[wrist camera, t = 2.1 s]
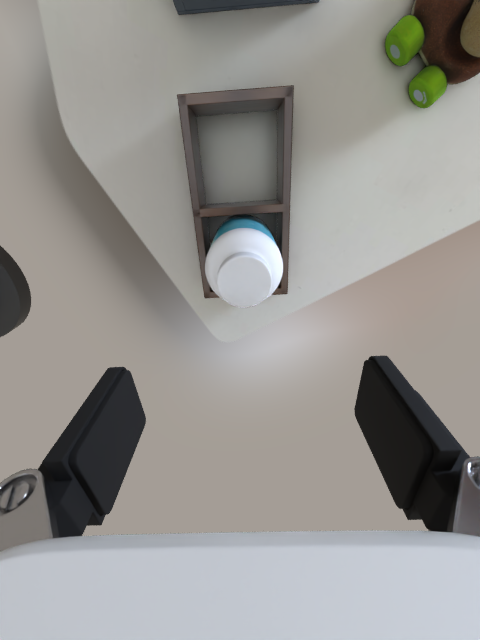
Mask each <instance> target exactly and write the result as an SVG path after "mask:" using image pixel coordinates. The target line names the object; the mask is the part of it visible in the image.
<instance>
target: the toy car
mask: <svg viewBox="0 0 480 640" xmlns="http://www.w3.org/2000/svg"><path fill="white" fill-rule="evenodd" d="M385 48H386V53H387V55H388V57H389V59H390V60H391V61H392V62H393V63H394V64H395V65H398V66H403V65H405V64H407V63H408V62H409V61H410V60H411V59H412V58H413V57H414V56H415V55H416V54H417V53H418V52H419V54H420V56H421V58H422V59H423V61H424V63H425V64H426V65H427V67H425V68H424V69H422V70H421V71H420V72H419V73H418V74H417V75H416V76H415V77H414V78H413V79H412V81H411V82H410V85H409V95H410V98H411V100H412V101H413V102H414V104H415V105H417V106H418V107H420V108H428V107H429V106H431V105H432V104H433V103H434V102H435V101H436V100H437V99H439V98H440V97H441V96H442V95H443V94H444V92H445V90H446V88H447V84H458V83H461V82H464V81H466V80H468V79H470V78H472V77H474V76H475V75H477V74H478V73H480V0H415V1H414V4H413V7H412V11H411V15H407V16H404V17H403V18H402V19H401V20H400V21H399V22H398V23H397V24H396V25H395V26H394V27H393V28H392V30H391V31H390V32H389V33H388V35H387V37H386V41H385Z"/></svg>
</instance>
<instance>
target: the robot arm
mask: <svg viewBox="0 0 480 640" xmlns="http://www.w3.org/2000/svg"><path fill="white" fill-rule="evenodd" d="M355 416H356V419H357V421H358V423H359V426H360V428H361V430H362V432H363V434H364V437H365V439H366V441H367V443H368V445H369V447H370V449H371V452H372V454H373V456H374V458H375V460H376V463H377V465H378V467H379V469H380V471H381V473H382V476H383V478H384V480H385V482H386V484H387V486H388V489H389V491H390V493H391V495H392V497H393V499H394V502H395V504H396V505H397V507H398V508H400V509H403V511H404V513H405V515H406V517H407V519H408V520H417V519H422V520H423V522H424V524H425V526H426V528H427V529H429V531H373V530H371V531H288V532H287V531H284V532H223V533H177V534H176V533H173V534H129V535H128V534H127V535H102V536H101V535H100V536H82V534H83V532H84V530H85V528H86V526H87V525H102V522H103V520H104V517H105V515H106V514H109V513H110V511H111V510H112V507H113V505H114V502H115V500H116V497H117V495H118V492H119V490H120V487H121V484H122V482H123V479H124V477H125V475H126V472H127V469H128V467H129V464H130V462H131V459H132V457H133V454H134V452H135V449H136V447H137V444H138V442H139V439H140V436H141V434H142V431H143V429H144V426H145V422H146V418H145V414H144V411H143V408H142V405H141V402H140V399H139V396H138V393H137V390H136V387H135V384H134V381H133V378H132V375H131V373H130V371H129V370H126V368H124V367H113V368H108V369H107V370H106V372H105V373H104V375H103V376H102V377H101V379H100V380H99V382H98V383H97V385H96V386H95V388H94V389H93V390H92V392H91V393H90V395H89V396H88V397H87V399H86V400H85V402H84V403H83V405H82V406H81V407H80V409H79V410H78V412H77V413H76V415H75V416H74V417H73V419H72V420H71V422H70V423H69V425H68V426H67V427H66V429H65V430H64V432H63V433H62V434H61V436H60V437H59V439H58V440H57V442H56V443H55V444H54V446H53V447H52V449H51V450H50V452H49V453H48V454H47V456H46V457H45V459H44V460H43V462H42V464H41V465H40V467H39V468H38V470H37V469H26V470H22V471H19V472H17V473H15V474H13V475H11V476H10V477H8V478H6V479H5V480H3V481H2V482H1V483H0V640H480V457H478V456H477V457H469V455H468V454H467V453H466V452H465V450H464V449H463V448H462V447H461V445H460V444H459V443H458V442H457V440H456V439H455V438H454V437H453V435H452V434H451V433H450V432H449V430H448V429H447V428H446V427H445V425H444V424H443V423H442V422H441V421H440V419H439V418H438V417H437V415H436V414H435V413H434V412H433V410H432V409H431V408H430V407H429V405H428V404H427V403H426V402H425V400H424V399H423V398H422V397H421V395H420V394H419V393H418V392H417V391H415V390H414V389H413V388H412V386H411V385H410V384H409V383H408V381H407V380H406V379H405V378H404V376H403V375H402V374H401V373H400V371H399V370H398V369H397V367H396V366H395V365H394V364H393V362H392V361H391V360H390V359H389V358H388V357H387V356H371V357H369V359H368V360H366V361H365V362H364V366H363V370H362V375H361V380H360V385H359V390H358V395H357V400H356V405H355Z"/></svg>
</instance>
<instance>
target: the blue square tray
mask: <svg viewBox="0 0 480 640" xmlns="http://www.w3.org/2000/svg"><path fill="white" fill-rule="evenodd" d="M173 2H174V5H175V7H176V10H177V12H178V14H179V15H181V14H193V13H204V12H215V11H226V10H237V9H248V8H260V7H271V6H282V5H293V4H304V3H315V2H319V0H173Z"/></svg>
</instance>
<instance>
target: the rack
mask: <svg viewBox="0 0 480 640" xmlns="http://www.w3.org/2000/svg"><path fill="white" fill-rule="evenodd" d="M293 92H294V86H293V85H291V86H279V87H266V88H253V89H241V90H228V91H216V92H203V93H190V94H178V95H177V98H178V105H179V113H180V120H181V127H182V135H183V142H184V150H185V157H186V164H187V172H188V179H189V186H190V194H191V201H192V209H193V216H194V223H195V231H196V238H197V246H198V253H199V260H200V268H201V275H202V283H203V290H204V297H205V298H219V296H218V295H217V294H216V293H215V292H214V291H213V290H212V288H211V287H210V285H209V283H208V280H207V277H206V273H205V261H206V257H207V254H208V251H209V249H210V247H211V245H210V236H209V227H208V218H207V217H212V216H228V215H245V214H261V213H277V247H278V249H279V251H280V253H281V257H282V261H283V274H282V278H281V281H280V283H279V285H278V287H277V288H276V290H275V291H274V292H273V293H272V294H271V295H277V294H287V293H288V259H289V225H290V191H291V157H292V123H293ZM274 110H277V200H266V201H250V202H234V203H219V204H206V200H205V191H204V182H203V173H202V164H201V155H200V146H199V137H198V128H197V119H196V116H208V115H221V114H235V113H248V112H261V111H274Z"/></svg>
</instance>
